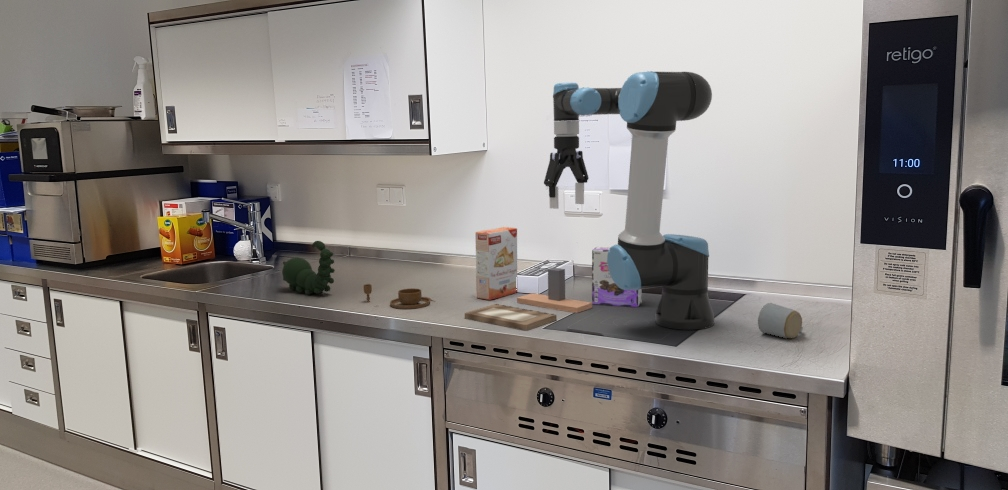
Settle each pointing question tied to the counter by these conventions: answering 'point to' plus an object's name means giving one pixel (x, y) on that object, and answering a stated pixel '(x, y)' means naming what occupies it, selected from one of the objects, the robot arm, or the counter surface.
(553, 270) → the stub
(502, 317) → the board
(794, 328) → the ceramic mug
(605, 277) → the candy box
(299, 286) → the toy figurine
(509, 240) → the cracker box
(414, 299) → the place setting
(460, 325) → the counter surface
